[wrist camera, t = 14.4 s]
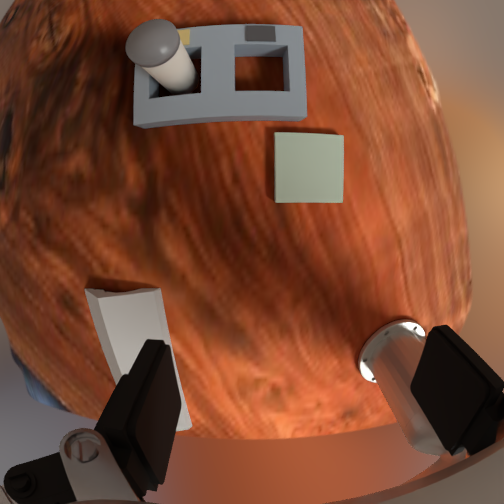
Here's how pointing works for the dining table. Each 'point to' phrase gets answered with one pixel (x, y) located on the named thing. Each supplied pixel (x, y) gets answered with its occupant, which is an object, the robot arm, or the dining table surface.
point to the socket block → (228, 78)
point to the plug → (163, 56)
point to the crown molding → (131, 330)
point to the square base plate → (308, 167)
